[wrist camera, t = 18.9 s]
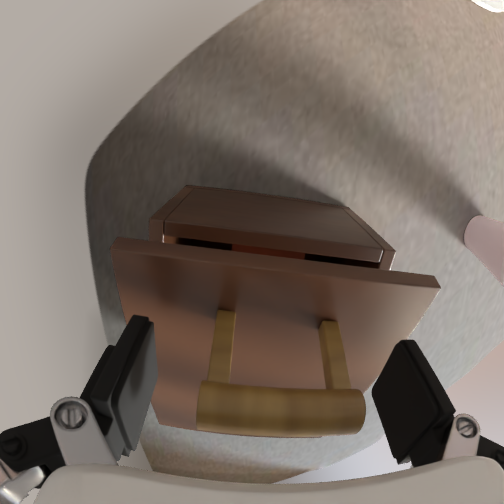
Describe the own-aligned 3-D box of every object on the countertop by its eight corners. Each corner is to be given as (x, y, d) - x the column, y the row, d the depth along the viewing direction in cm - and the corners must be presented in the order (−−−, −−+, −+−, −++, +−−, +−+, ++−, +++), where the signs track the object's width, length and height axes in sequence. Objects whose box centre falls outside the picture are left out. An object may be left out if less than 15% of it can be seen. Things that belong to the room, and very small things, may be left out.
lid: (117, 235, 10) (47, 355, 6) (434, 275, 11) (488, 382, 6) (160, 415, 20) (149, 477, 15) (320, 429, 20) (325, 489, 16)
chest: (186, 184, 22) (148, 218, 14) (348, 207, 22) (396, 251, 14) (180, 345, 28) (161, 415, 20) (306, 358, 28) (320, 429, 20)
